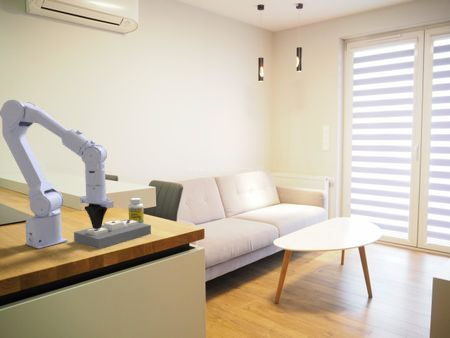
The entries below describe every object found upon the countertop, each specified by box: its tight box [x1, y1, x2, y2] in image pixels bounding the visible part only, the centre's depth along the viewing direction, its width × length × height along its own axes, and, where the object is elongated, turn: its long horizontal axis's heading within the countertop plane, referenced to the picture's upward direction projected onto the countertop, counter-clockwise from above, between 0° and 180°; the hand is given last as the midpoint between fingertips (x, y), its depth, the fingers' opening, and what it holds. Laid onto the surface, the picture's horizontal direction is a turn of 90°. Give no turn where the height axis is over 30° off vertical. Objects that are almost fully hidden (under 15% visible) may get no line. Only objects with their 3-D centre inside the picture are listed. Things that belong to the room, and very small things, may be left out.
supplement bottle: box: [128, 197, 145, 224], centre depth 133 cm, size 5×5×10 cm
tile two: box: [87, 227, 108, 236], centre depth 111 cm, size 4×4×3 cm
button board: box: [73, 219, 152, 250], centre depth 116 cm, size 20×13×3 cm, turn 144°
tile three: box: [121, 219, 138, 227], centre depth 120 cm, size 4×4×3 cm
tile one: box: [103, 219, 124, 231], centre depth 115 cm, size 4×4×3 cm
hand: (97, 228), depth 110 cm, fingers closed
